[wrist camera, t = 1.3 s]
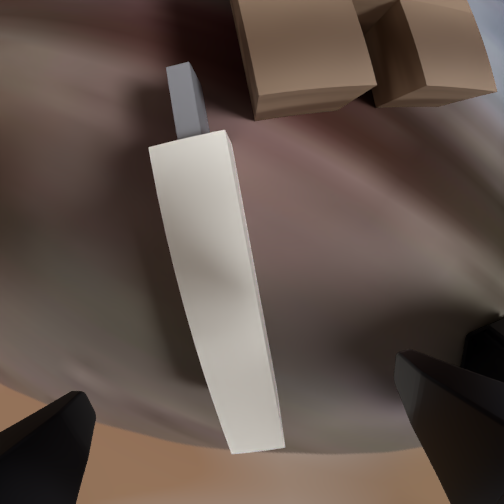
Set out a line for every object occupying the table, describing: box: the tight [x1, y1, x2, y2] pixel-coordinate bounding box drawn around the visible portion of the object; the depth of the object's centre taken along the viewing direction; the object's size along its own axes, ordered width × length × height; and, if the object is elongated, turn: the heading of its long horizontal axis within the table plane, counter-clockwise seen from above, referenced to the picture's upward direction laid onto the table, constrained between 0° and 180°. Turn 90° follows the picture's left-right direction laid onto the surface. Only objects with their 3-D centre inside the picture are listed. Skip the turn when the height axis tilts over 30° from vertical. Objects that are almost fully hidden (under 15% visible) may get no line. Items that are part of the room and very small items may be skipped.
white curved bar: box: [148, 62, 285, 454], centre depth 16 cm, size 20×3×6 cm, turn 10°
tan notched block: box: [230, 0, 497, 121], centre depth 12 cm, size 10×12×6 cm
